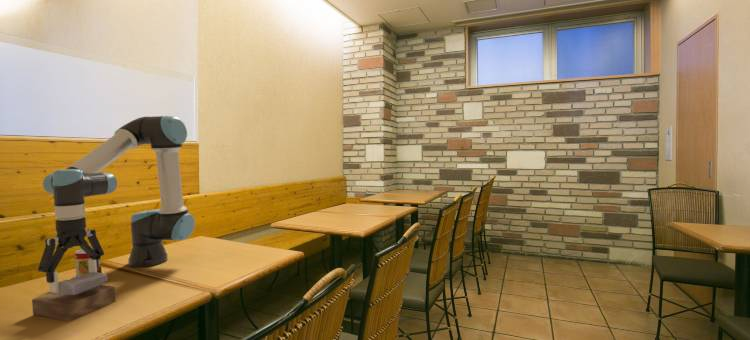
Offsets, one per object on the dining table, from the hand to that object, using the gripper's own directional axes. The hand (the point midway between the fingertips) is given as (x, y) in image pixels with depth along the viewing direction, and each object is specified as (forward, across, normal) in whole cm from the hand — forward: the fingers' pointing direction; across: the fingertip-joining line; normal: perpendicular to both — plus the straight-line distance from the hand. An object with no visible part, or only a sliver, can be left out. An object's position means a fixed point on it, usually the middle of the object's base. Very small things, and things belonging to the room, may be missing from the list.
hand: (74, 285), depth 122 cm
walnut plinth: (+8, 0, 0) cm, 8 cm away
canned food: (+8, -20, -21) cm, 30 cm away
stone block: (+1, 0, +2) cm, 2 cm away
